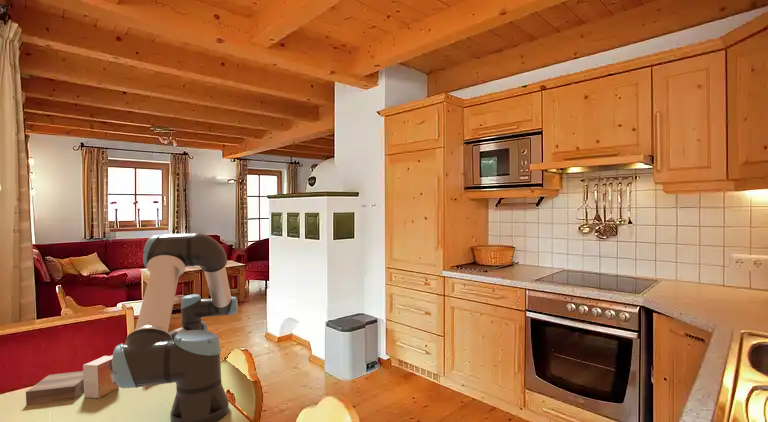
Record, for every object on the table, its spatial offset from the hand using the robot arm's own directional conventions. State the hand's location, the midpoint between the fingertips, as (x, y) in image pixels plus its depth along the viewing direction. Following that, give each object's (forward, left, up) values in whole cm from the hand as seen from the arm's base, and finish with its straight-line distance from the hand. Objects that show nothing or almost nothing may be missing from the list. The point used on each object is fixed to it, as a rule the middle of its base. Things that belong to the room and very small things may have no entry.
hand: (127, 361), depth 141 cm
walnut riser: (-4, +18, -6) cm, 19 cm away
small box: (-8, +5, -7) cm, 12 cm away
